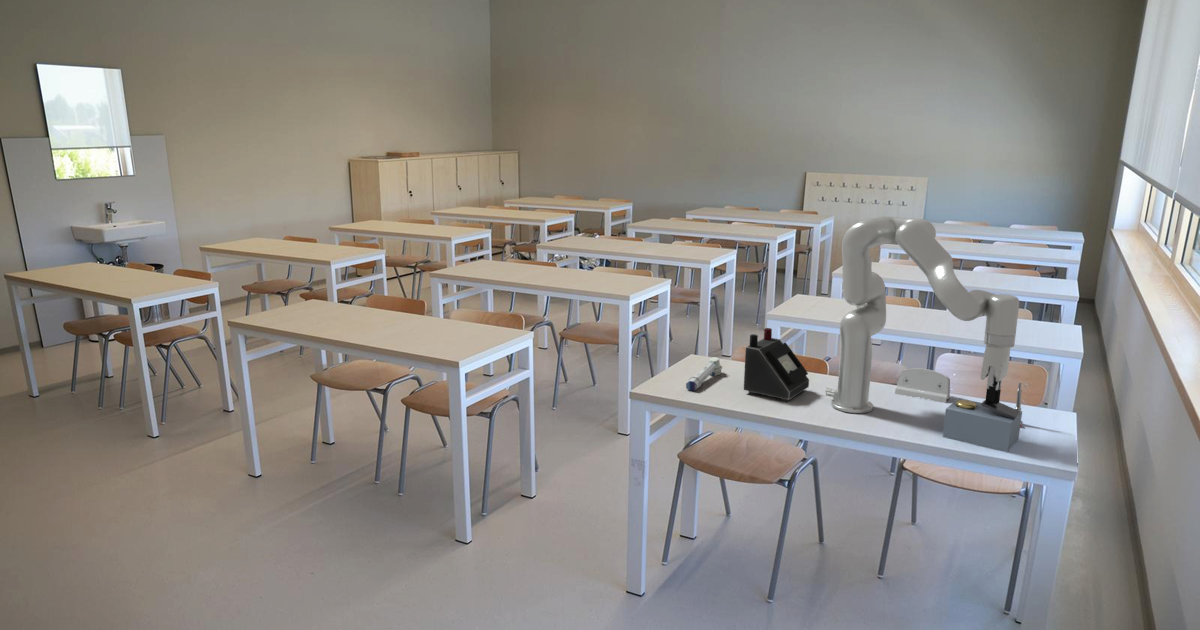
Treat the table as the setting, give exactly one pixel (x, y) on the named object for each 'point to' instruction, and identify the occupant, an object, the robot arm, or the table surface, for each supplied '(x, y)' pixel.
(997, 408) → the grey flat rectangular plate
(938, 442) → the table surface
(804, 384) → the voltmeter
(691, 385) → the grey blue-ended cylinder
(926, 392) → the hinge
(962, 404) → the brass pin
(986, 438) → the grey rectangular box
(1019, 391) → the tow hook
